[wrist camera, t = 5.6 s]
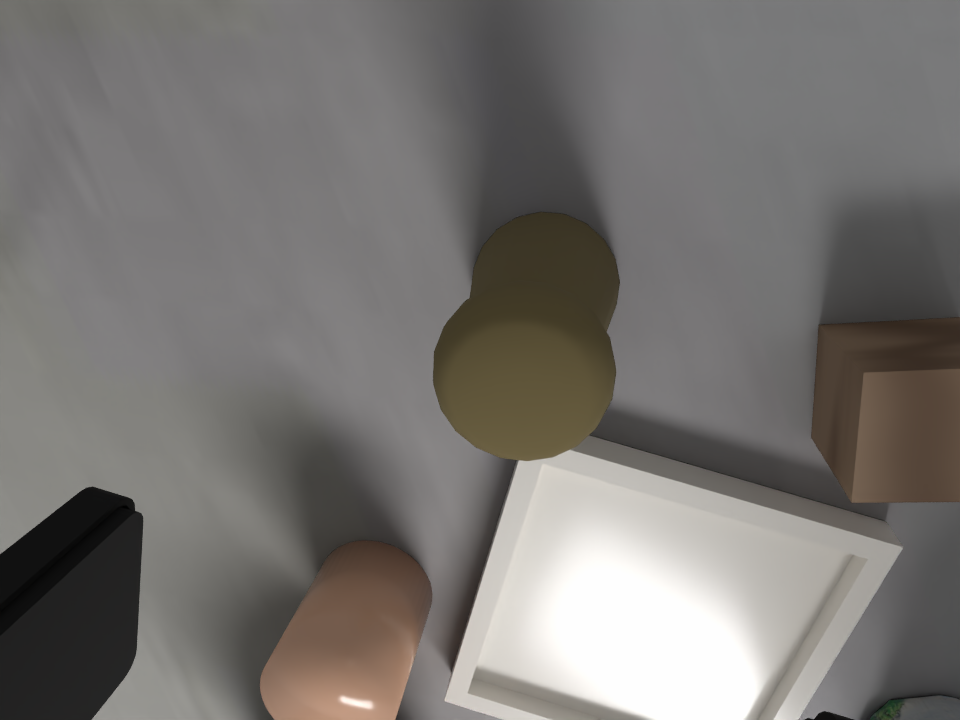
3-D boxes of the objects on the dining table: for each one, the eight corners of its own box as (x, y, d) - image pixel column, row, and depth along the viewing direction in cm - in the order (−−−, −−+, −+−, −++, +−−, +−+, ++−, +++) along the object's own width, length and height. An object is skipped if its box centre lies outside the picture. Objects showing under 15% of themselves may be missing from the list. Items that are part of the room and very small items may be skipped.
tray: (886, 521, 30) (903, 547, 28) (743, 764, 36) (750, 797, 34) (529, 418, 30) (525, 437, 29) (451, 673, 37) (444, 701, 35)
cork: (621, 352, 29) (636, 495, 19) (479, 357, 30) (420, 495, 20) (618, 206, 26) (632, 279, 16) (465, 217, 28) (390, 291, 17)
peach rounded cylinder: (443, 561, 34) (408, 671, 28) (419, 648, 36) (381, 768, 30) (329, 526, 34) (268, 626, 28) (312, 614, 37) (253, 726, 30)
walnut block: (958, 316, 26) (1035, 365, 22) (941, 433, 28) (1010, 501, 23) (818, 324, 27) (863, 372, 22) (810, 436, 29) (851, 502, 24)
